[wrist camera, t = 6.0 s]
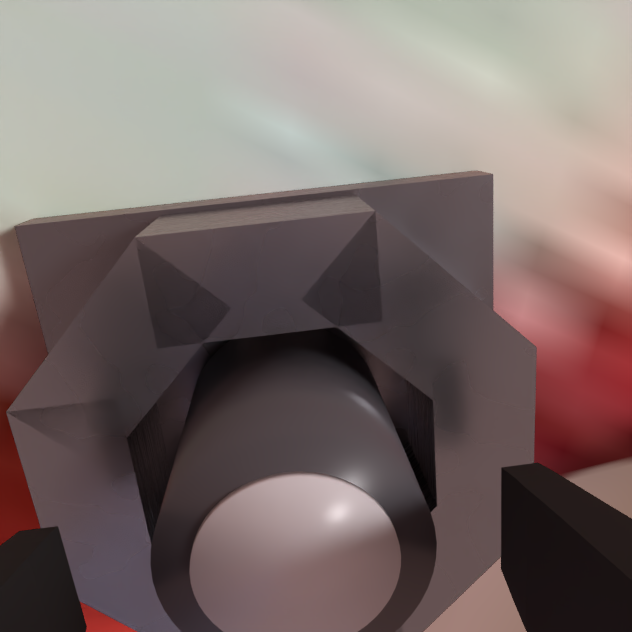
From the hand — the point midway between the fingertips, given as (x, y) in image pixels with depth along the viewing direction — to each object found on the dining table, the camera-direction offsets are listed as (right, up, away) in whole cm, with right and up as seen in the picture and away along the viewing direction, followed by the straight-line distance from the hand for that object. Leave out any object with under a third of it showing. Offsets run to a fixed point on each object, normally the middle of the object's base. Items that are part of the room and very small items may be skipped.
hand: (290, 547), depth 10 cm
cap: (0, +2, +4) cm, 5 cm away
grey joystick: (0, +2, +5) cm, 6 cm away
